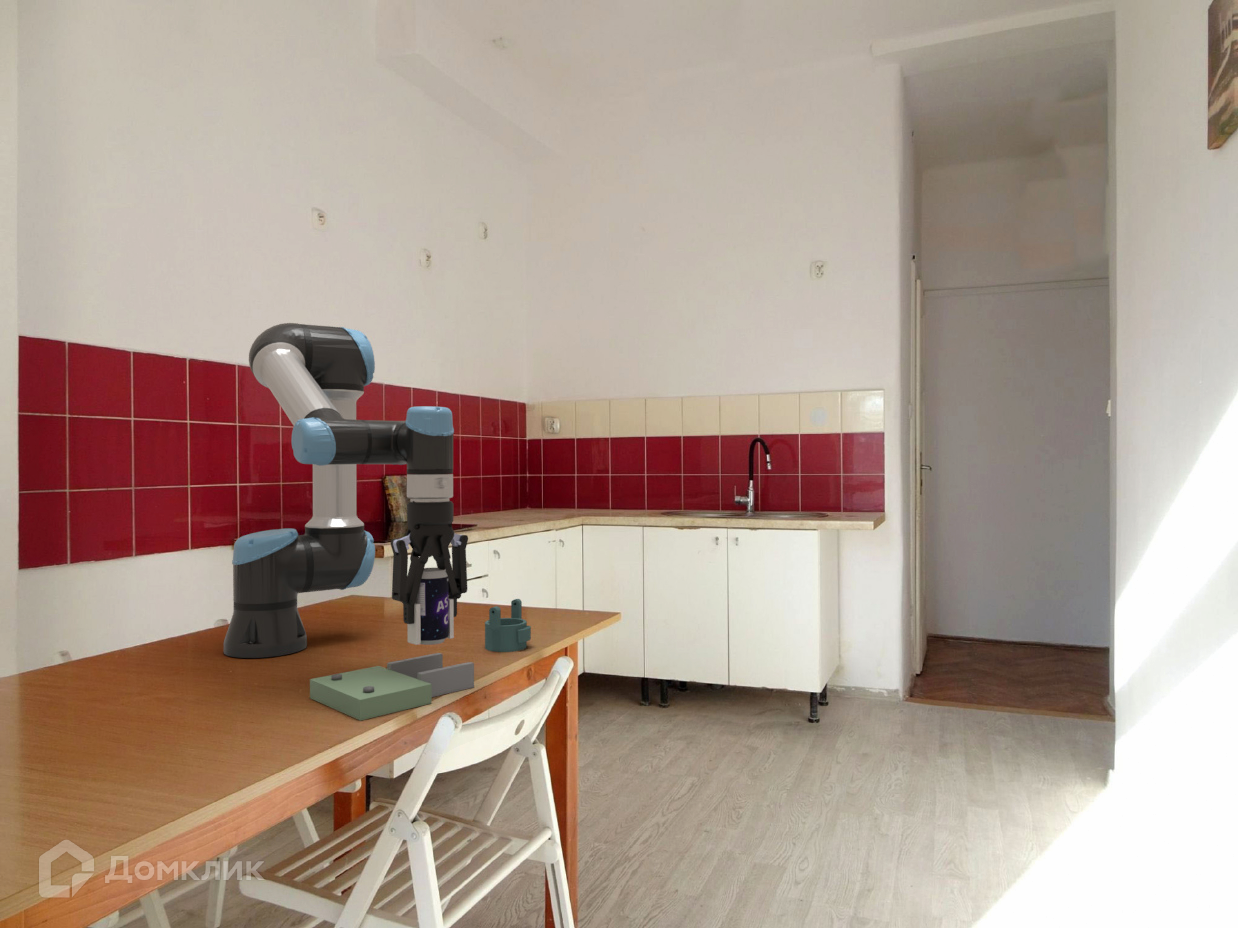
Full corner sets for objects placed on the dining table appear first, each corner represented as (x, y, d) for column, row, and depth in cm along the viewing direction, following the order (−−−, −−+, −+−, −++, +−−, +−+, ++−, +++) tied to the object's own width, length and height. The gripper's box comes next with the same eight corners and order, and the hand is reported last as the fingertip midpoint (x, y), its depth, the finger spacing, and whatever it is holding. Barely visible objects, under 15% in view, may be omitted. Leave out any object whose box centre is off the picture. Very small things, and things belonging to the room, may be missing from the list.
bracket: (489, 654, 164) (490, 608, 164) (480, 643, 172) (481, 599, 172) (535, 650, 167) (535, 605, 167) (524, 640, 176) (524, 597, 175)
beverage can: (440, 646, 137) (439, 572, 137) (407, 644, 138) (407, 571, 138) (453, 639, 142) (453, 567, 142) (422, 637, 143) (422, 566, 143)
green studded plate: (309, 698, 134) (309, 672, 134) (429, 672, 150) (429, 650, 149) (360, 720, 123) (360, 692, 123) (484, 690, 138) (484, 666, 138)
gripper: (391, 503, 131) (392, 653, 131) (489, 498, 144) (490, 634, 144) (367, 501, 136) (367, 645, 136) (464, 497, 149) (464, 628, 149)
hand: (430, 639), depth 140 cm, fingers closed on beverage can, 6 cm apart
